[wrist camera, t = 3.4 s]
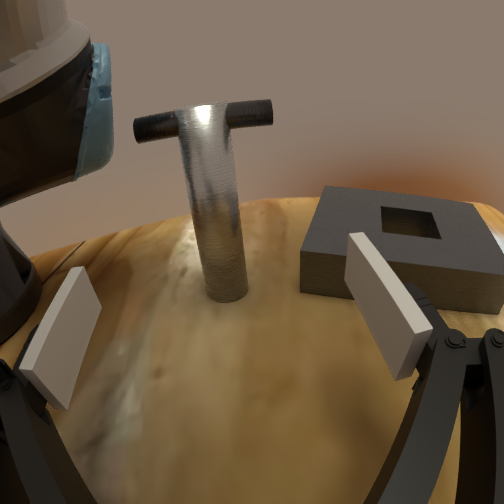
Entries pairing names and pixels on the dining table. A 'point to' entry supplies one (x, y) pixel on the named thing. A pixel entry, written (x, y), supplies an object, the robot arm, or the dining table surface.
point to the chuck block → (406, 247)
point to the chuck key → (211, 182)
